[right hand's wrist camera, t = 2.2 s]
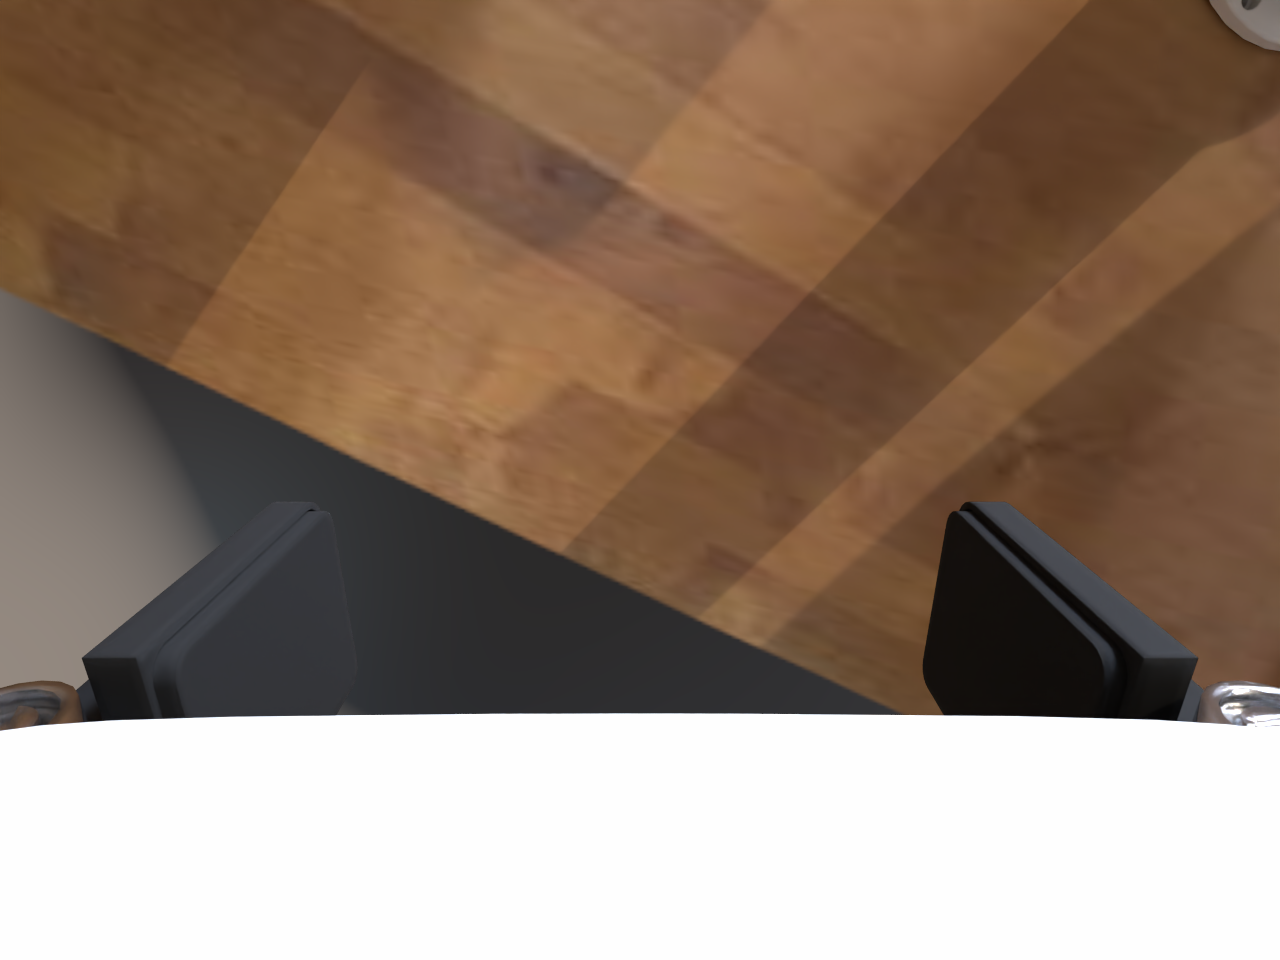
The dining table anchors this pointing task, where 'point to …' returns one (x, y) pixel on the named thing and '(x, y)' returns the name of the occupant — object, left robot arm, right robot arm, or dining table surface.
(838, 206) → the dining table surface
